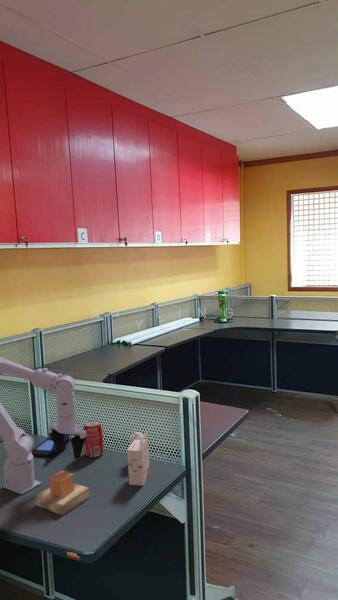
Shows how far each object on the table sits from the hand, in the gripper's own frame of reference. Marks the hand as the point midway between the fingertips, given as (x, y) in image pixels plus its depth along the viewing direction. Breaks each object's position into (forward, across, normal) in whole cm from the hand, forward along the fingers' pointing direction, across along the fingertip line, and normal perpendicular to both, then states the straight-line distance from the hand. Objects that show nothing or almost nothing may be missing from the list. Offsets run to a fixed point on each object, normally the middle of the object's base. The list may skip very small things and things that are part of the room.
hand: (69, 455), depth 147 cm
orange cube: (+6, -6, +9) cm, 13 cm away
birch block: (+10, -6, +9) cm, 15 cm away
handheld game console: (+10, +25, -16) cm, 32 cm away
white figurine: (+10, -11, -23) cm, 27 cm away
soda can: (+10, +8, -20) cm, 24 cm away
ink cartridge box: (+10, -18, -13) cm, 24 cm away
